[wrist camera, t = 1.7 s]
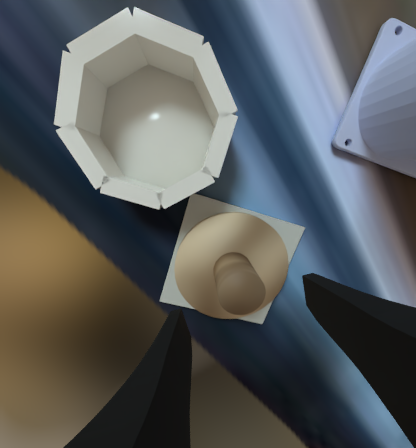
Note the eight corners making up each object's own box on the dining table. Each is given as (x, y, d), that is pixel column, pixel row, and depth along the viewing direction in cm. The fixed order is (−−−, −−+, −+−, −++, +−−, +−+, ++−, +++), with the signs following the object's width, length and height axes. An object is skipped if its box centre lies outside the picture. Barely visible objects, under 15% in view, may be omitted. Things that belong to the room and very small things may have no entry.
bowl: (240, 88, 13) (256, 58, 10) (202, 211, 15) (204, 222, 12) (106, 34, 12) (71, -21, 9) (83, 176, 14) (47, 177, 11)
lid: (300, 229, 16) (336, 247, 12) (261, 321, 17) (280, 362, 14) (193, 197, 14) (192, 205, 10) (163, 299, 16) (153, 338, 12)
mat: (302, 226, 16) (305, 227, 15) (260, 320, 18) (262, 324, 18) (191, 192, 15) (191, 192, 14) (160, 298, 17) (159, 301, 16)
